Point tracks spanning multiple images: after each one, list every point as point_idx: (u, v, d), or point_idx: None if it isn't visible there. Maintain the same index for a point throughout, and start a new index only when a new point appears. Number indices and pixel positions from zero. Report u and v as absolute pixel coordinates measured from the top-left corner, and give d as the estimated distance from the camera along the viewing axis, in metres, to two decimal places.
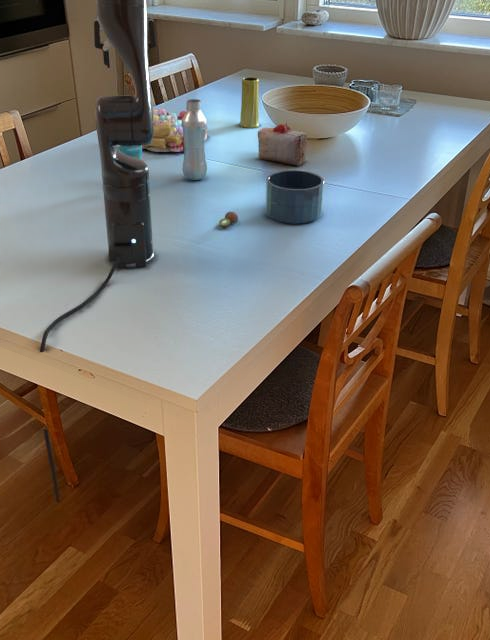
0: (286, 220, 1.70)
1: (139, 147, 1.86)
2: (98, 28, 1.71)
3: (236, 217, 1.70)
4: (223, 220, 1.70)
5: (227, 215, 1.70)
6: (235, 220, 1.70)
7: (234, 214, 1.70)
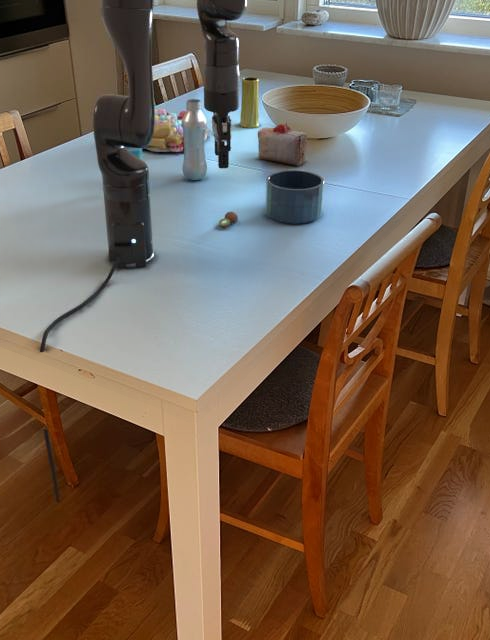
0: (286, 220, 1.70)
1: None
2: (213, 114, 1.64)
3: (236, 217, 1.70)
4: (223, 220, 1.70)
5: (227, 215, 1.70)
6: (235, 220, 1.70)
7: (234, 214, 1.70)
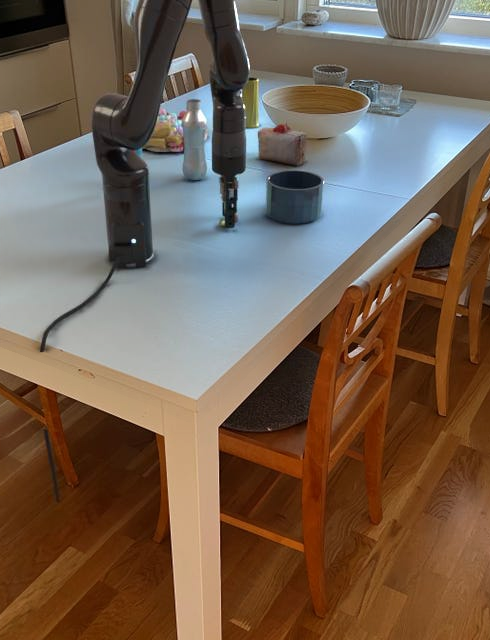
0: (286, 220, 1.70)
1: None
2: (221, 176, 1.70)
3: (236, 217, 1.70)
4: (223, 220, 1.70)
5: None
6: (235, 220, 1.70)
7: None
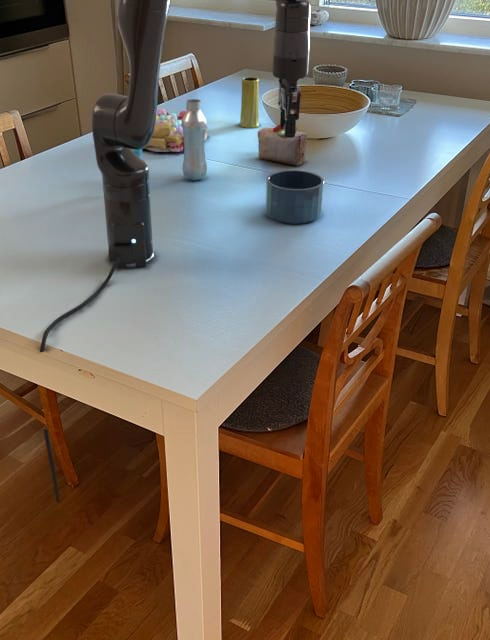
0: (286, 220, 1.70)
1: None
2: None
3: (295, 127, 1.64)
4: (282, 131, 1.64)
5: None
6: None
7: None
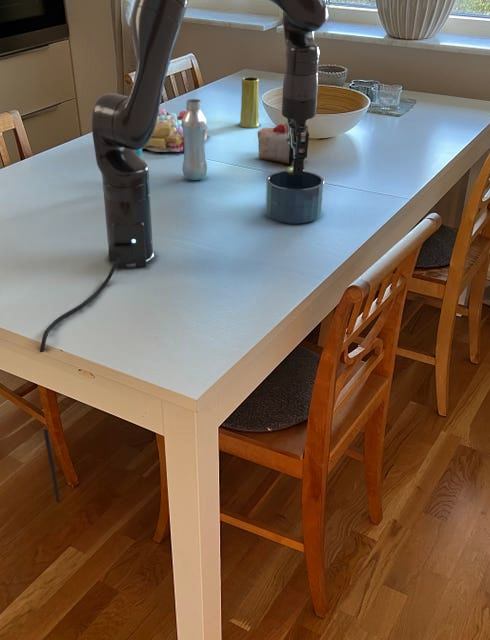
0: (286, 220, 1.70)
1: None
2: None
3: None
4: (290, 167, 1.69)
5: None
6: None
7: None
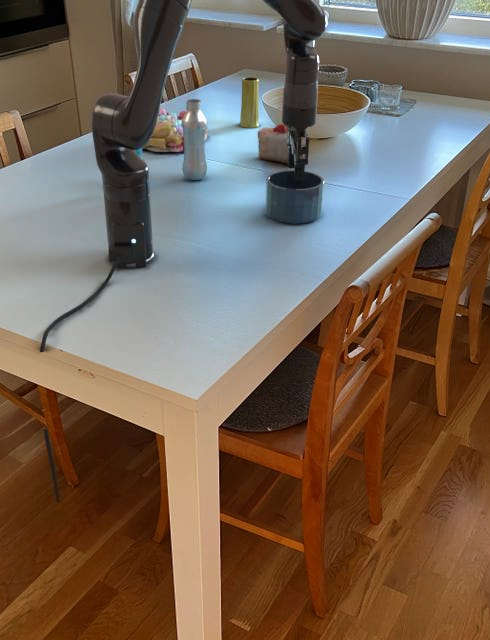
0: (286, 220, 1.70)
1: None
2: (288, 128, 1.71)
3: None
4: None
5: None
6: None
7: None
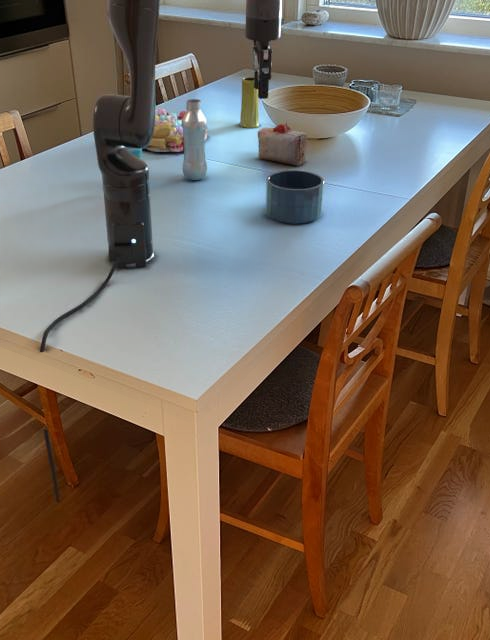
0: (286, 220, 1.70)
1: None
2: (254, 46, 1.66)
3: None
4: None
5: None
6: None
7: None
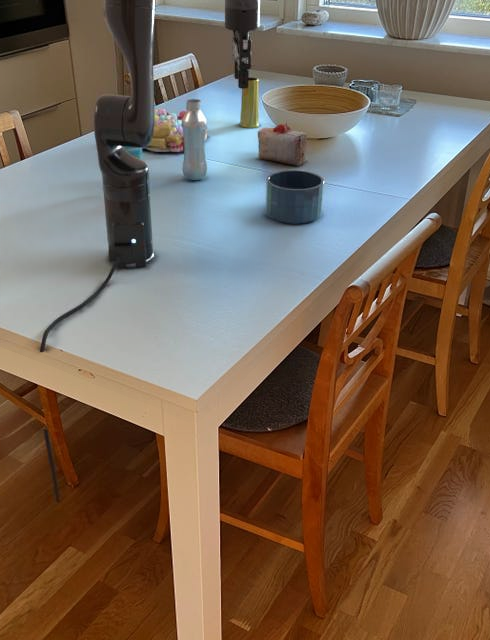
0: (286, 220, 1.70)
1: None
2: (233, 36, 1.67)
3: None
4: None
5: None
6: None
7: None
